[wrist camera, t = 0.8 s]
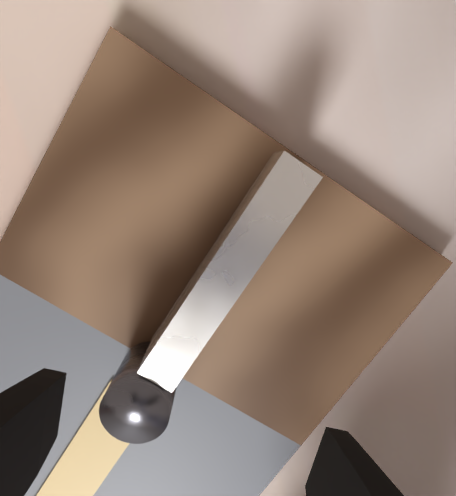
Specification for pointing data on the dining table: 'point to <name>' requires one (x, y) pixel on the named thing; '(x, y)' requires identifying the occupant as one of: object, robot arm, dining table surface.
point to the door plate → (108, 447)
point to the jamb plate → (208, 243)
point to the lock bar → (204, 302)
